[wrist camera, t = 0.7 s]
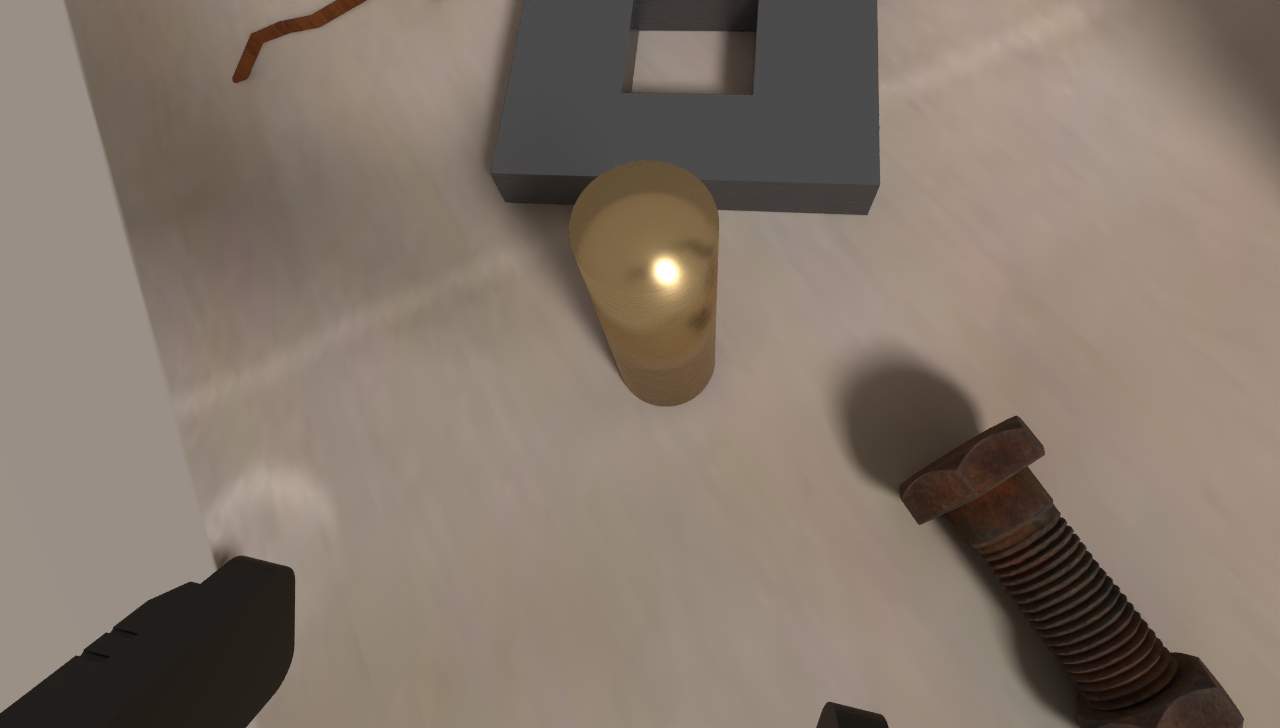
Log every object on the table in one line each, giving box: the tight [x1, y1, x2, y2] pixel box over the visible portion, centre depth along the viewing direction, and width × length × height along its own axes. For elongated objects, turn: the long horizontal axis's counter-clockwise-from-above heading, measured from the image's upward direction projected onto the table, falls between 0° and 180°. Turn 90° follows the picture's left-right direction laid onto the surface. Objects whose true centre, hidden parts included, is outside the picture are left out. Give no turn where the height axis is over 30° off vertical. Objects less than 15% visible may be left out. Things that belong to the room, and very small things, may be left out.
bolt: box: [899, 416, 1244, 728], centre depth 24 cm, size 6×5×15 cm
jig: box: [491, 0, 880, 215], centre depth 35 cm, size 18×16×2 cm
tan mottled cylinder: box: [569, 161, 719, 406], centre depth 25 cm, size 4×4×12 cm
